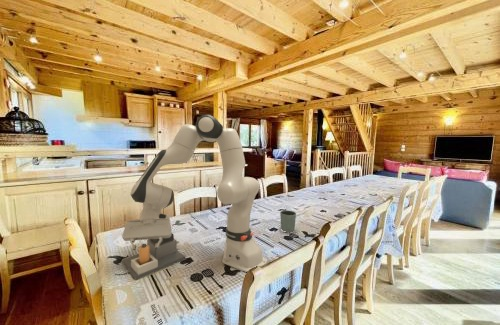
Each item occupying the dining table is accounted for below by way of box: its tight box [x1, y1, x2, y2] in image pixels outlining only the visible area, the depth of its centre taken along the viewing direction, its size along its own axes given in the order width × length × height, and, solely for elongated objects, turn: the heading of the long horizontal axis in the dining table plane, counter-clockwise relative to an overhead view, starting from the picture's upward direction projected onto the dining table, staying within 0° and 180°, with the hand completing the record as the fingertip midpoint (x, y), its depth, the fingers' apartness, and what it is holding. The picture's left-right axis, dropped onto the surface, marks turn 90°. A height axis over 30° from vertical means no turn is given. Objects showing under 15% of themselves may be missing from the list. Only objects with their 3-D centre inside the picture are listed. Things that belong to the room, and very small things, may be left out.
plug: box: [138, 243, 150, 265], centre depth 92 cm, size 4×4×10 cm
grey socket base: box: [121, 233, 186, 281], centre depth 99 cm, size 17×22×10 cm
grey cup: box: [280, 209, 297, 233], centre depth 139 cm, size 10×10×12 cm
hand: (145, 248), depth 93 cm, fingers open, 8 cm apart
